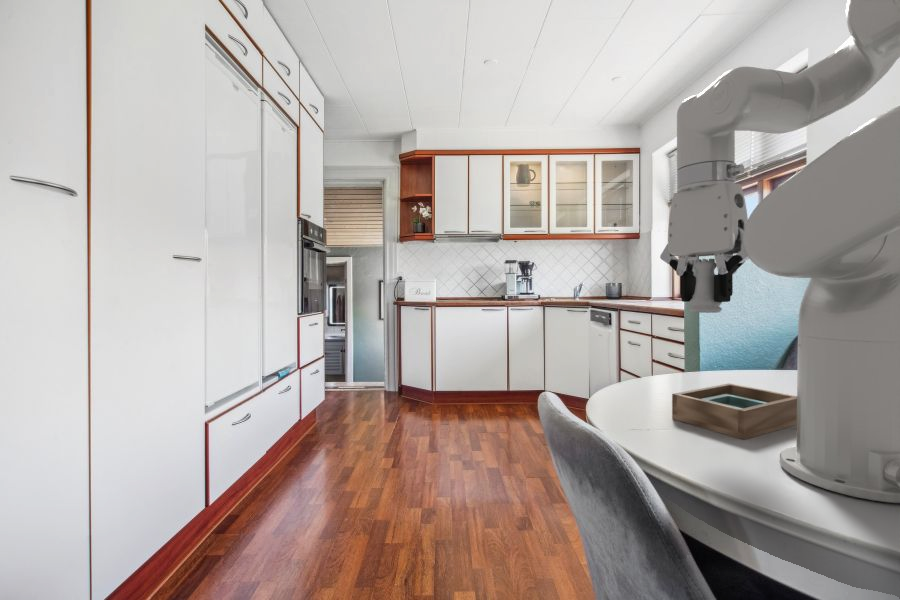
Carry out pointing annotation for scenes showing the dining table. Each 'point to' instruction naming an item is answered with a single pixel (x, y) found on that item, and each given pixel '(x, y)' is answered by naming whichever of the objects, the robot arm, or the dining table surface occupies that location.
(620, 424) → the dining table surface
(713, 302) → the rook chess piece
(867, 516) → the dining table surface
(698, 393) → the walled box
